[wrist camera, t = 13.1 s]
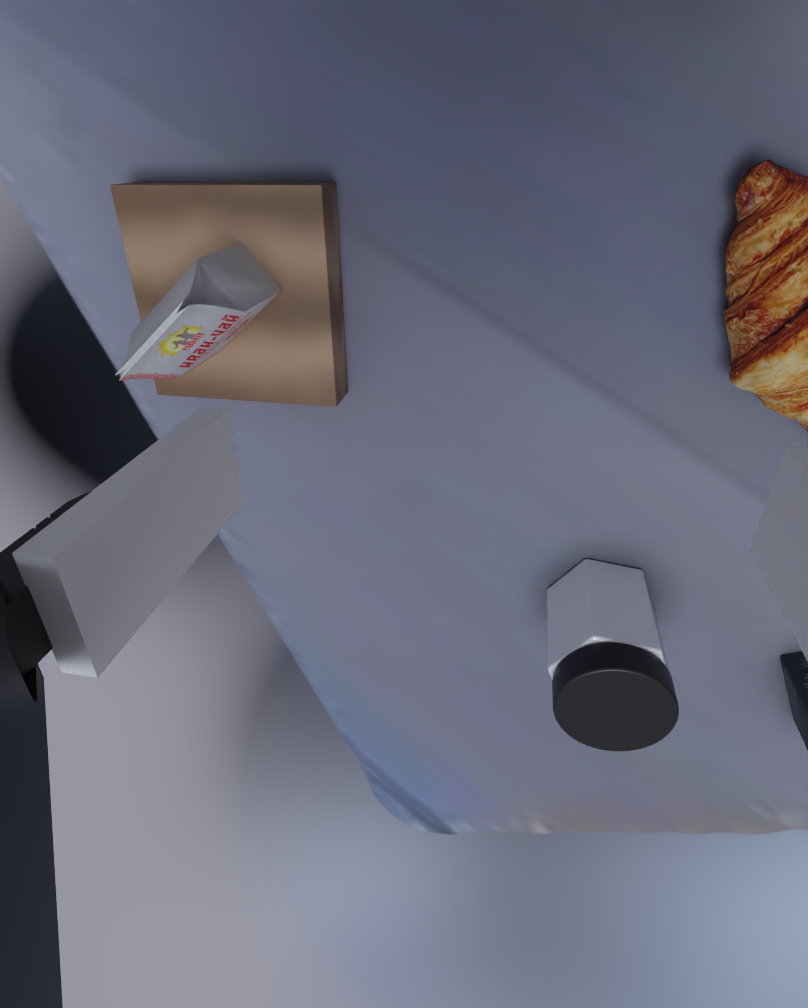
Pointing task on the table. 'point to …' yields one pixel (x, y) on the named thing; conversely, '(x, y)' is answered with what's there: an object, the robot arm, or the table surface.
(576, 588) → the jar
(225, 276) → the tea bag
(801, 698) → the box
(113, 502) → the robot arm
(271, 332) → the pedestal
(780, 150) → the table surface
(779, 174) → the croissant
